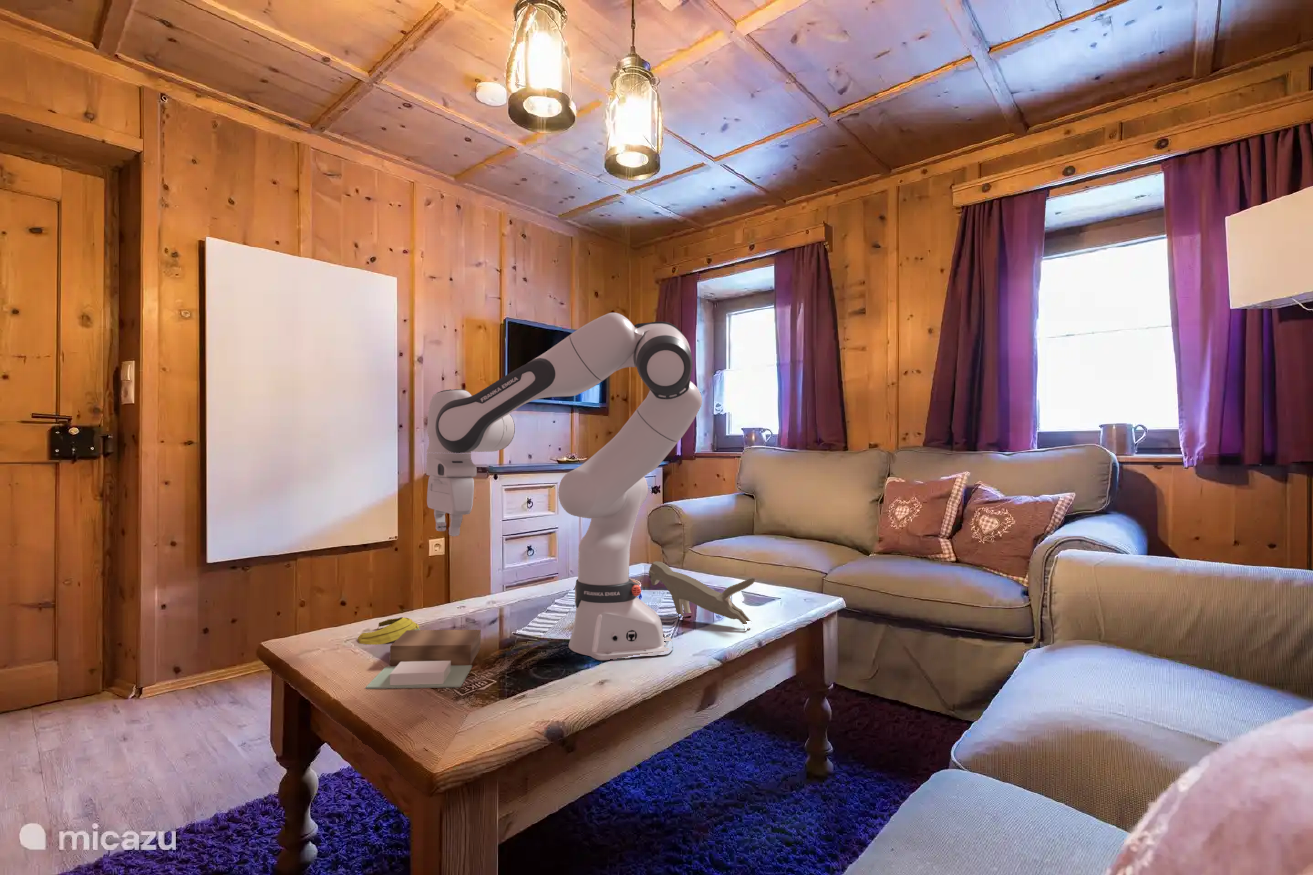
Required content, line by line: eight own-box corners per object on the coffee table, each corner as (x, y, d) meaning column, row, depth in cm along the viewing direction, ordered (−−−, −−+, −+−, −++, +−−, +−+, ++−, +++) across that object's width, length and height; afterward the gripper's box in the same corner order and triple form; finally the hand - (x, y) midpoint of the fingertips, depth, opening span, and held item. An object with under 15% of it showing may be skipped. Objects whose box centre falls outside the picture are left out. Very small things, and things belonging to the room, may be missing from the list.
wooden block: (480, 648, 125) (480, 629, 125) (470, 665, 115) (470, 644, 115) (406, 649, 123) (406, 630, 123) (389, 666, 113) (390, 645, 113)
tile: (443, 672, 105) (443, 683, 105) (450, 660, 111) (450, 671, 111) (390, 673, 104) (389, 685, 104) (400, 661, 110) (400, 672, 110)
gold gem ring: (426, 639, 132) (426, 620, 132) (363, 650, 124) (364, 629, 124) (408, 625, 141) (409, 607, 142) (349, 634, 133) (350, 615, 134)
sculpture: (743, 649, 146) (648, 589, 160) (771, 582, 143) (671, 527, 158) (733, 656, 140) (635, 593, 155) (761, 587, 138) (659, 529, 152)
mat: (472, 666, 114) (472, 665, 114) (460, 687, 104) (460, 685, 104) (385, 667, 113) (386, 666, 113) (365, 688, 103) (365, 686, 103)
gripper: (420, 466, 131) (418, 528, 131) (447, 468, 114) (446, 540, 114) (449, 466, 135) (447, 527, 134) (479, 468, 118) (478, 537, 118)
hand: (447, 533), depth 124 cm, fingers open, 8 cm apart
